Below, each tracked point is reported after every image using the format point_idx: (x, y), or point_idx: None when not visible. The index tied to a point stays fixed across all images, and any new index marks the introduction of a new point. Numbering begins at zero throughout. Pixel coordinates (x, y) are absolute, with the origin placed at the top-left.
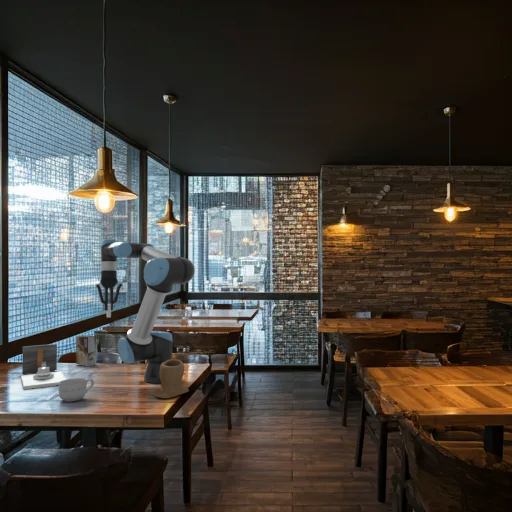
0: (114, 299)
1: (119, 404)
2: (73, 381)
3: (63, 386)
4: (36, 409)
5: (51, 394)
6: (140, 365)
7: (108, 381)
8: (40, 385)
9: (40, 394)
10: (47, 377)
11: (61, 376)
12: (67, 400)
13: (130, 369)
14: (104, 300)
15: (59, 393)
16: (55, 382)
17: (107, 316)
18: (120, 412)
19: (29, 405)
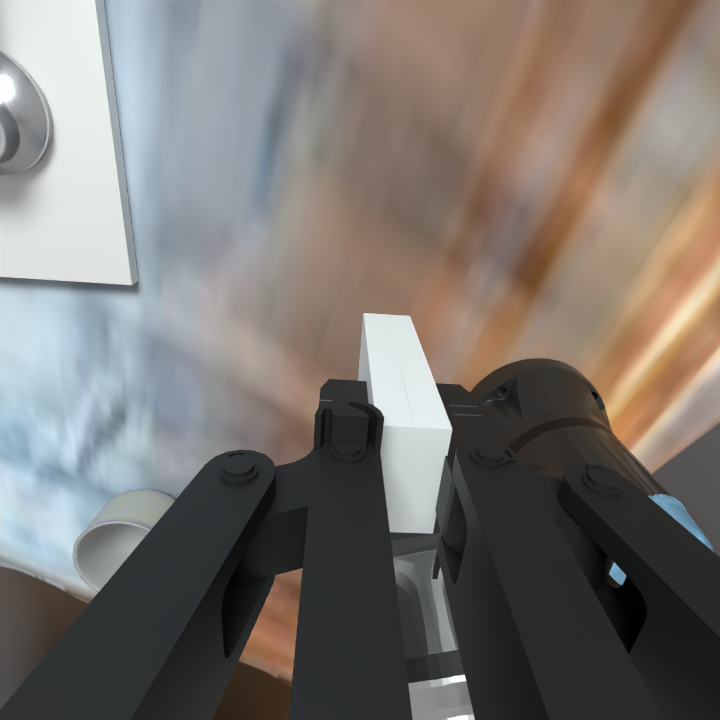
0: (610, 540)
1: (281, 609)
2: (135, 519)
3: (97, 580)
4: (44, 549)
5: (76, 411)
6: (647, 4)
7: (327, 330)
8: (5, 275)
9: (31, 389)
10: (15, 173)
11: (98, 143)
12: (133, 537)
13: (531, 104)
14: (309, 502)
15: (96, 539)
16: (74, 279)
17: (359, 374)
18: (266, 658)
19: (14, 503)
